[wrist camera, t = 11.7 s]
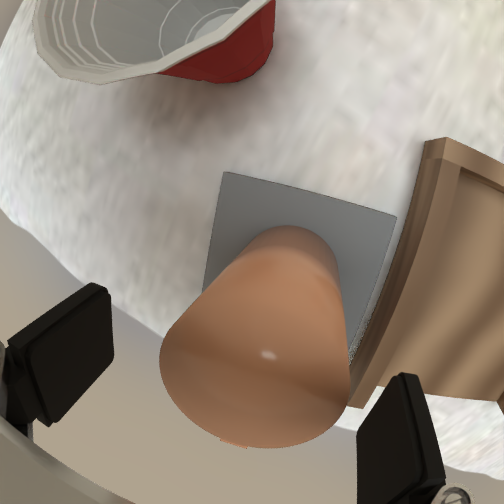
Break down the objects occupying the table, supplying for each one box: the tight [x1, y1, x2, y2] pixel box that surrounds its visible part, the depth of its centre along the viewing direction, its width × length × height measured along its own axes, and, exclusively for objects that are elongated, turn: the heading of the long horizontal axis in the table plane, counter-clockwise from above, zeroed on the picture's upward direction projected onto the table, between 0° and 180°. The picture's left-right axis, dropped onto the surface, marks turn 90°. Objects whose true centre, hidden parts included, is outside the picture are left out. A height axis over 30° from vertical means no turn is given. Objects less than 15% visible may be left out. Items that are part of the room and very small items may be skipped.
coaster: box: [202, 172, 397, 350], centre depth 20 cm, size 11×11×1 cm
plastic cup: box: [32, 0, 276, 85], centre depth 11 cm, size 11×11×12 cm
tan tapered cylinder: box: [159, 225, 351, 449], centre depth 15 cm, size 9×6×11 cm
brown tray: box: [347, 137, 504, 414], centre depth 16 cm, size 17×17×4 cm
